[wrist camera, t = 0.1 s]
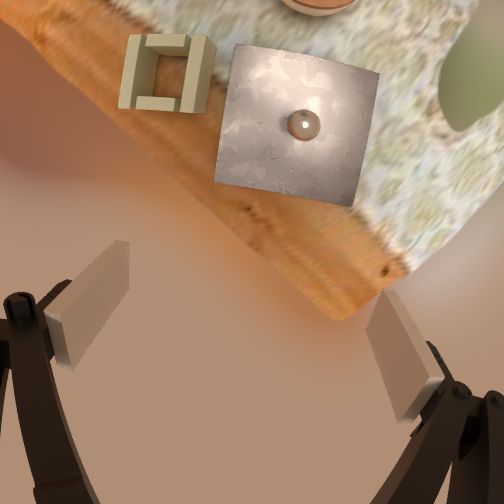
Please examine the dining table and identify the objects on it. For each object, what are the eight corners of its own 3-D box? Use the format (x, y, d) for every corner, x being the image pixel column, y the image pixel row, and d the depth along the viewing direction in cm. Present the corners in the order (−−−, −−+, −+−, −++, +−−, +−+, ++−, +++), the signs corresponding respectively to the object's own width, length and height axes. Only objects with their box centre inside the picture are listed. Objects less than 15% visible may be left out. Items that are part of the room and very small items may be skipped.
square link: (150, 45, 35) (129, 34, 28) (216, 47, 35) (206, 35, 28) (140, 108, 38) (117, 108, 32) (205, 113, 38) (193, 113, 32)
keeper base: (236, 46, 35) (225, 22, 24) (375, 74, 35) (409, 63, 25) (215, 180, 42) (197, 201, 32) (349, 204, 42) (373, 232, 32)
